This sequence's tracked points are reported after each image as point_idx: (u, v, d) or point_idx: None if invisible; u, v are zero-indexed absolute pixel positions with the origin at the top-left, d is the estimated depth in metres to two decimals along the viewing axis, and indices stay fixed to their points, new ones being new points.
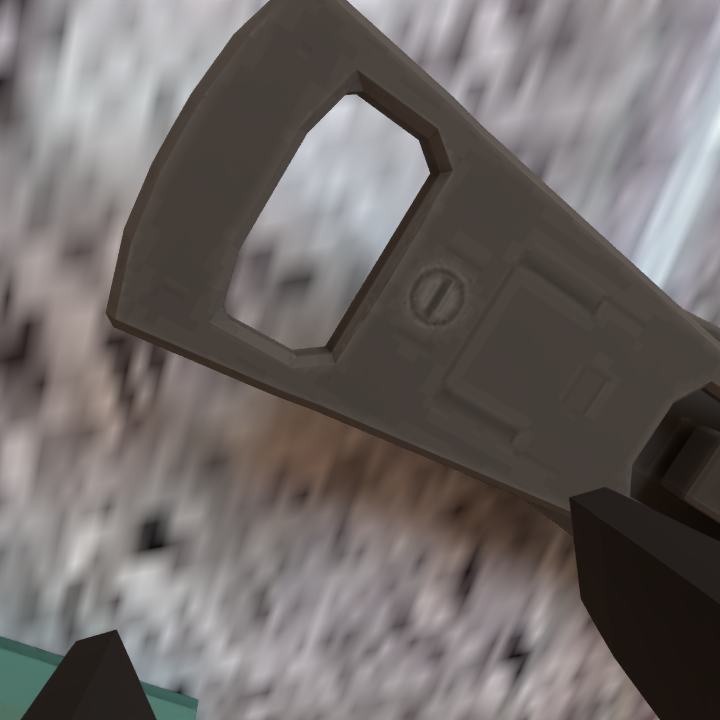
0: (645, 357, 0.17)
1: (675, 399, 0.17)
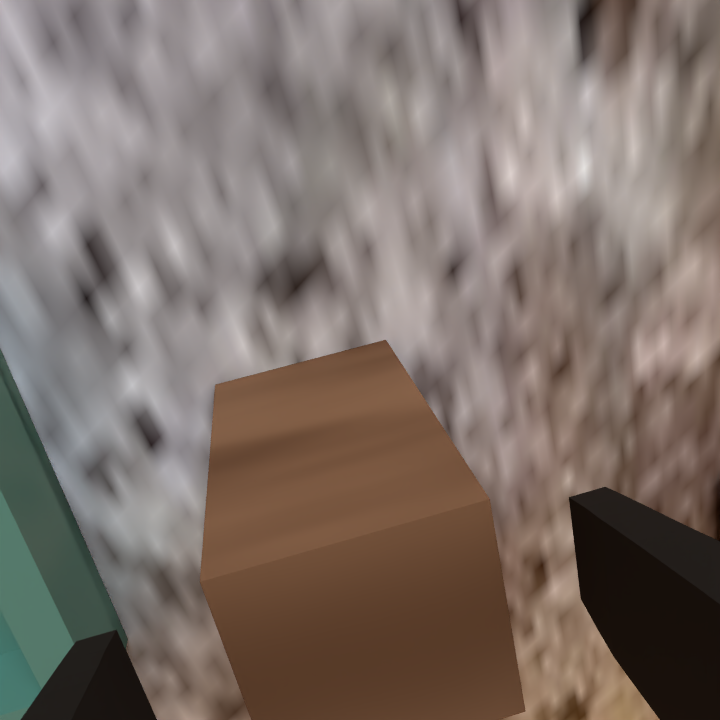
0: None
1: None
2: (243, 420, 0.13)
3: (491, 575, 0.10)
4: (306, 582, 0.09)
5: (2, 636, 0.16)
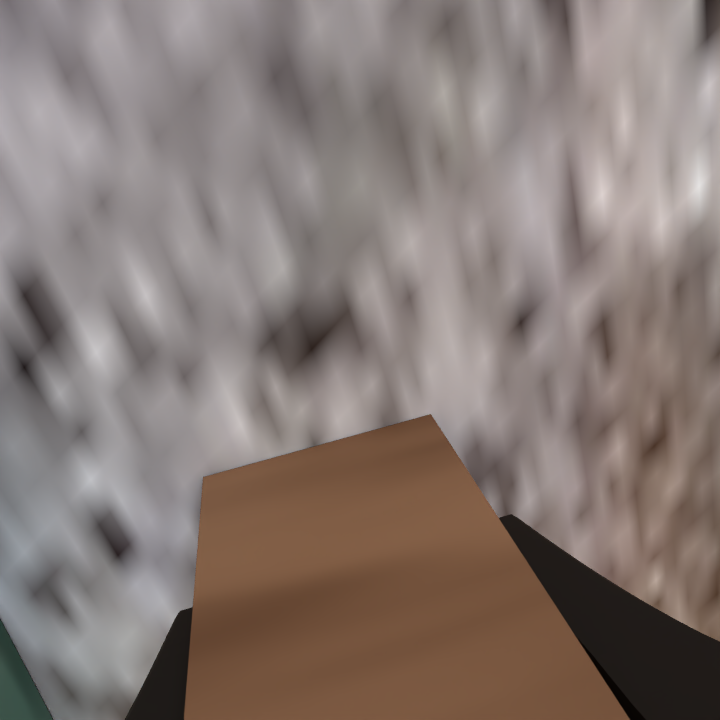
0: None
1: None
2: (241, 548, 0.09)
3: None
4: None
5: None
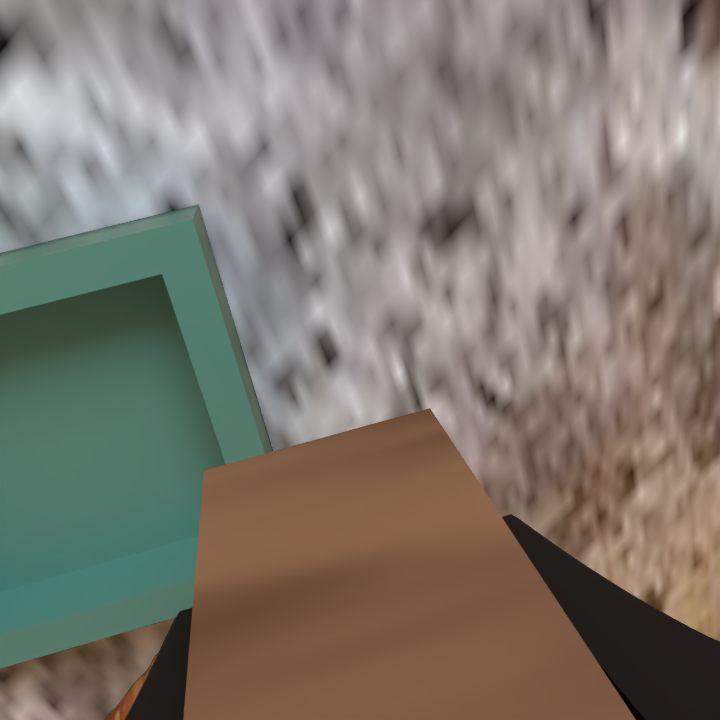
0: None
1: None
2: (242, 539, 0.10)
3: None
4: None
5: None
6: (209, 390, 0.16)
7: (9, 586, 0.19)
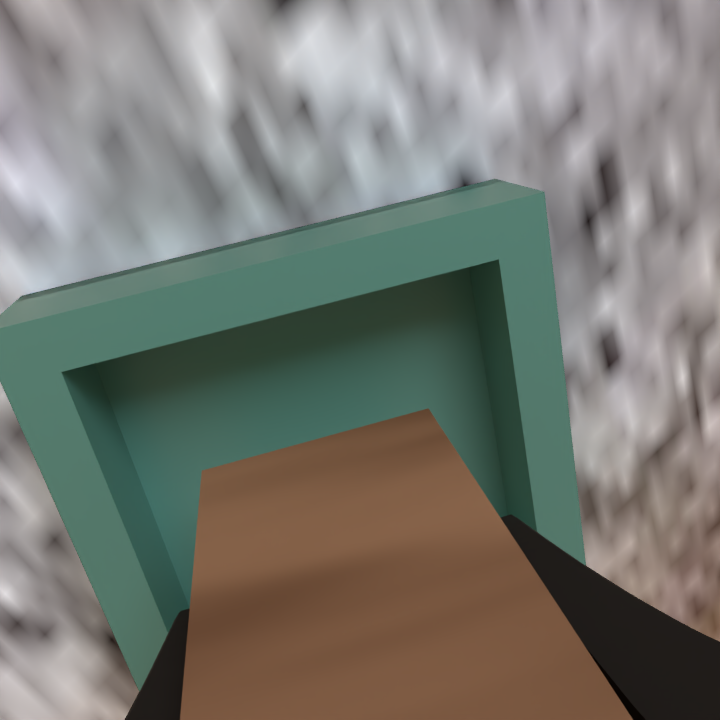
0: None
1: None
2: (239, 539, 0.09)
3: None
4: None
5: None
6: (528, 400, 0.14)
7: None
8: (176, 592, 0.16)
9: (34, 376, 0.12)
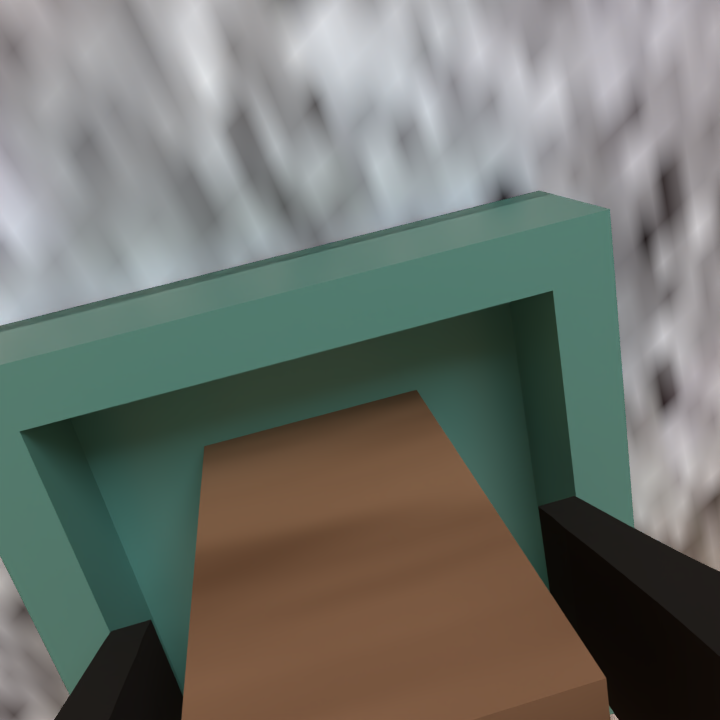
0: None
1: None
2: (240, 505, 0.10)
3: None
4: None
5: None
6: (583, 455, 0.11)
7: None
8: None
9: None
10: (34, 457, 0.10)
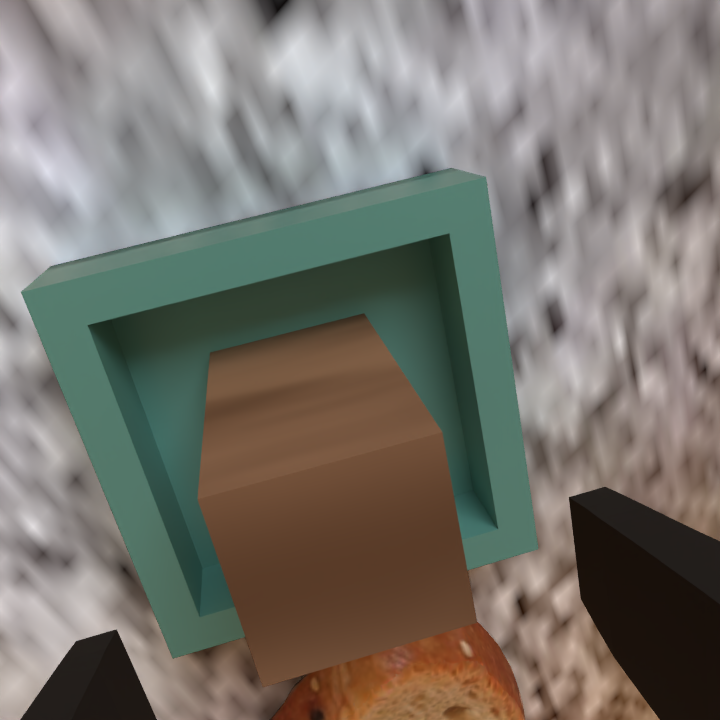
0: None
1: None
2: (235, 380, 0.15)
3: (446, 499, 0.12)
4: (287, 501, 0.11)
5: None
6: (477, 353, 0.16)
7: None
8: (180, 523, 0.18)
9: (65, 328, 0.14)
10: (96, 345, 0.15)
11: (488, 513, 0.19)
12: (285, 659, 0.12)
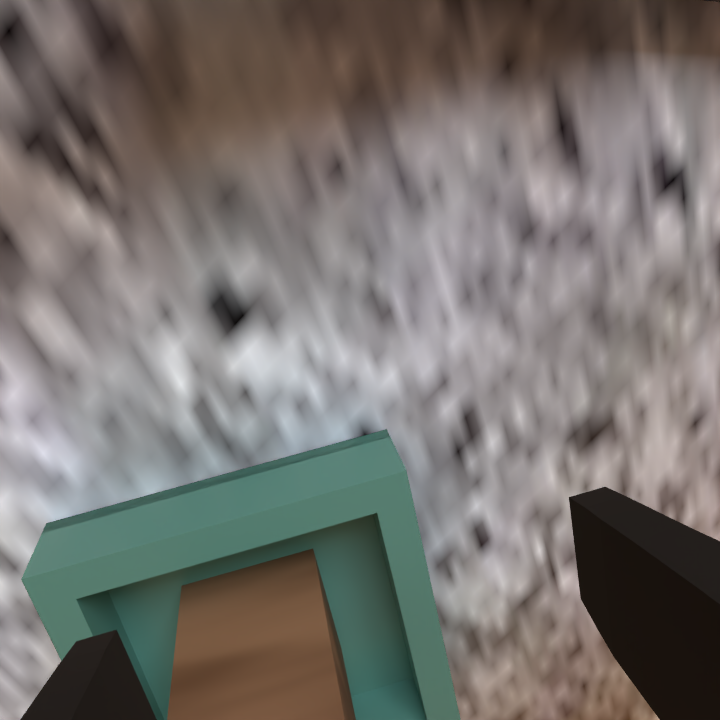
0: None
1: None
2: (199, 635, 0.18)
3: None
4: None
5: (370, 679, 0.23)
6: (405, 598, 0.19)
7: None
8: None
9: (58, 602, 0.17)
10: (83, 610, 0.18)
11: (422, 707, 0.22)
12: None
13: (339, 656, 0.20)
